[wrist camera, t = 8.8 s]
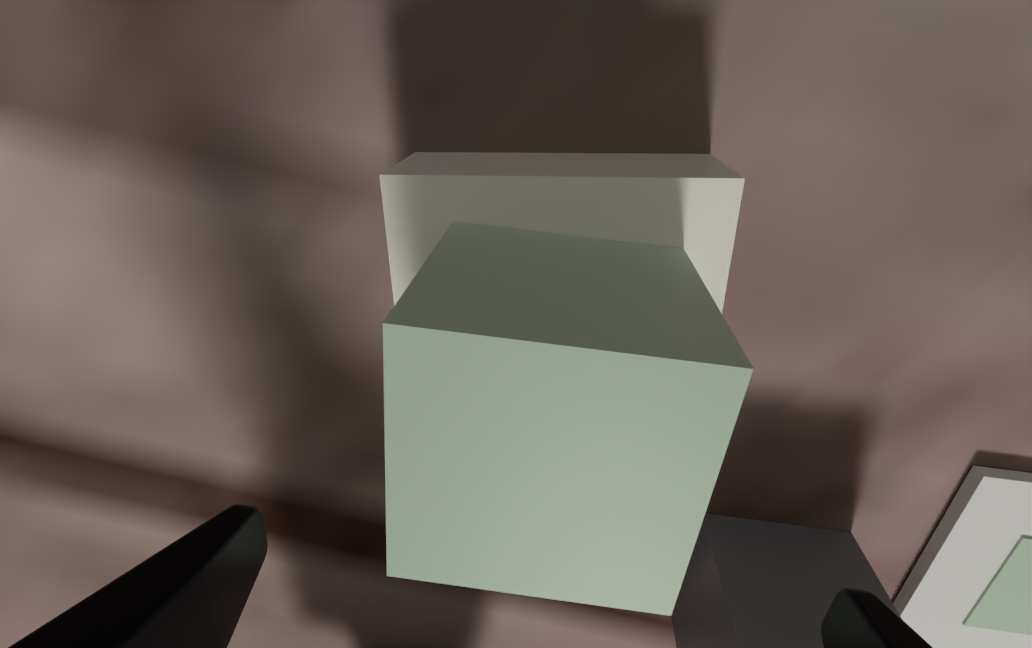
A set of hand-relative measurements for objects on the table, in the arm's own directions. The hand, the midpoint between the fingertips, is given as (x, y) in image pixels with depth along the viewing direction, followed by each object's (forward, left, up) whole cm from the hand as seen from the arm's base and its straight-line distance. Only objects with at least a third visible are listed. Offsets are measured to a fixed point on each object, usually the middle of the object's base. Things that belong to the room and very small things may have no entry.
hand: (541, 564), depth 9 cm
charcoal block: (-12, -10, -12) cm, 19 cm away
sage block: (0, 0, -8) cm, 8 cm away
